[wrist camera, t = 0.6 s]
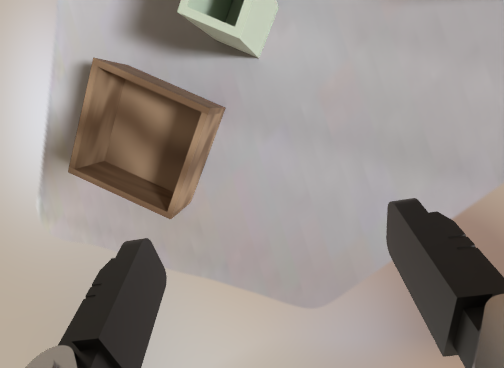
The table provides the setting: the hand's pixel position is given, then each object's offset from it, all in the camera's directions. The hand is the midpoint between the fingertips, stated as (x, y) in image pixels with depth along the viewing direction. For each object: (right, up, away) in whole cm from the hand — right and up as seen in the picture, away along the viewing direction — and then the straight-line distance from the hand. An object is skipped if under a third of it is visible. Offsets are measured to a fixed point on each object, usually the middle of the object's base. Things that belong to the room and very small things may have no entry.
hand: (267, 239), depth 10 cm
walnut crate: (-11, +7, +25) cm, 28 cm away
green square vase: (-1, +18, +21) cm, 27 cm away
